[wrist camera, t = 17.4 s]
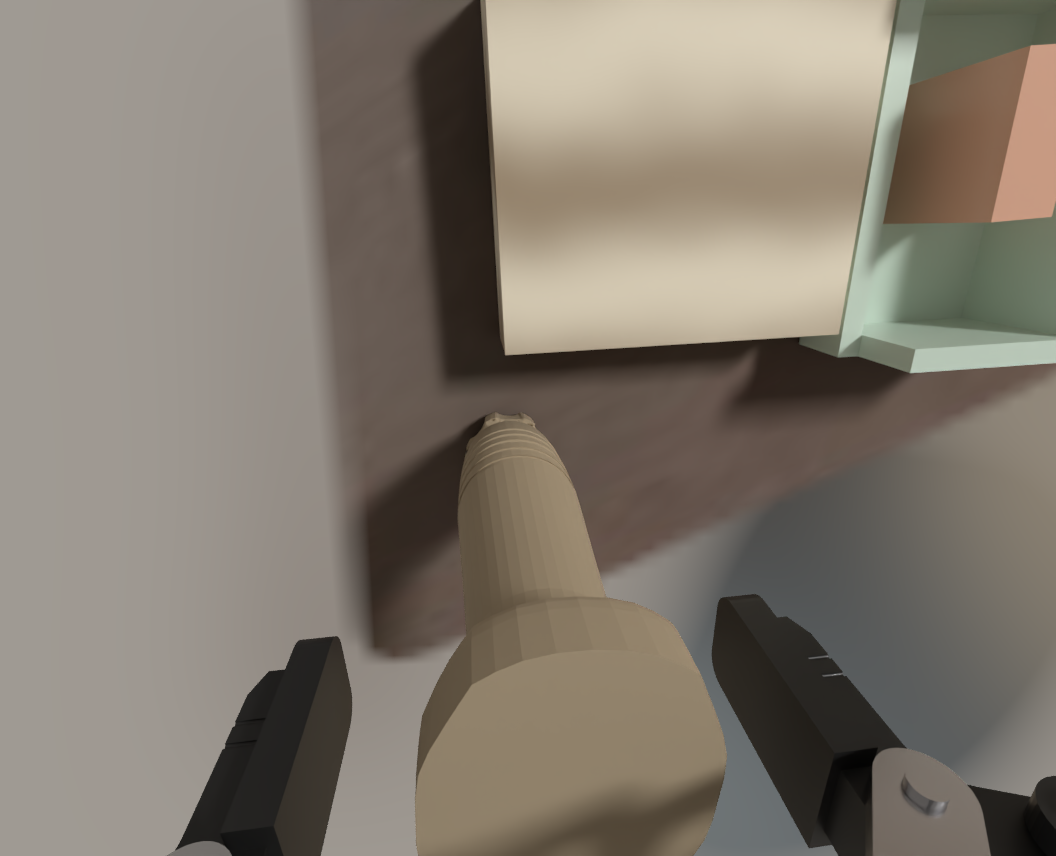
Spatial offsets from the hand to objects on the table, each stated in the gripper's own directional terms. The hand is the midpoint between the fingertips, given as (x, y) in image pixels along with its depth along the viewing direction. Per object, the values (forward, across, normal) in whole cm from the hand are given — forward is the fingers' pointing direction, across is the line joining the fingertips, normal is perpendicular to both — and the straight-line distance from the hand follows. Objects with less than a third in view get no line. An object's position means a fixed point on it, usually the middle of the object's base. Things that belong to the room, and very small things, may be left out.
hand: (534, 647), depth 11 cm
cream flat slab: (+12, -6, -10) cm, 17 cm away
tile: (+9, -15, -10) cm, 20 cm away
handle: (+12, 0, 0) cm, 12 cm away
